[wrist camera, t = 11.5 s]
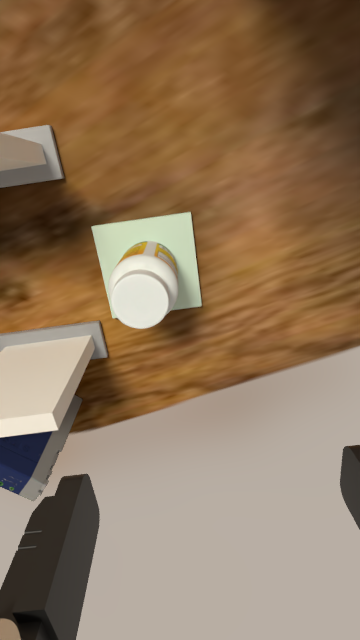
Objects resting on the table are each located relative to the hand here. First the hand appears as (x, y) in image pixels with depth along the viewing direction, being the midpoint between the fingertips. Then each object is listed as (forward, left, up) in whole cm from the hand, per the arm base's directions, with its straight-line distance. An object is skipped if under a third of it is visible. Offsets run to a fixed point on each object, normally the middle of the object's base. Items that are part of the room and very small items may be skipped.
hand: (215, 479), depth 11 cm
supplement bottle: (-1, -3, -24) cm, 24 cm away
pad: (-1, -3, -24) cm, 24 cm away
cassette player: (+11, -17, -24) cm, 31 cm away
